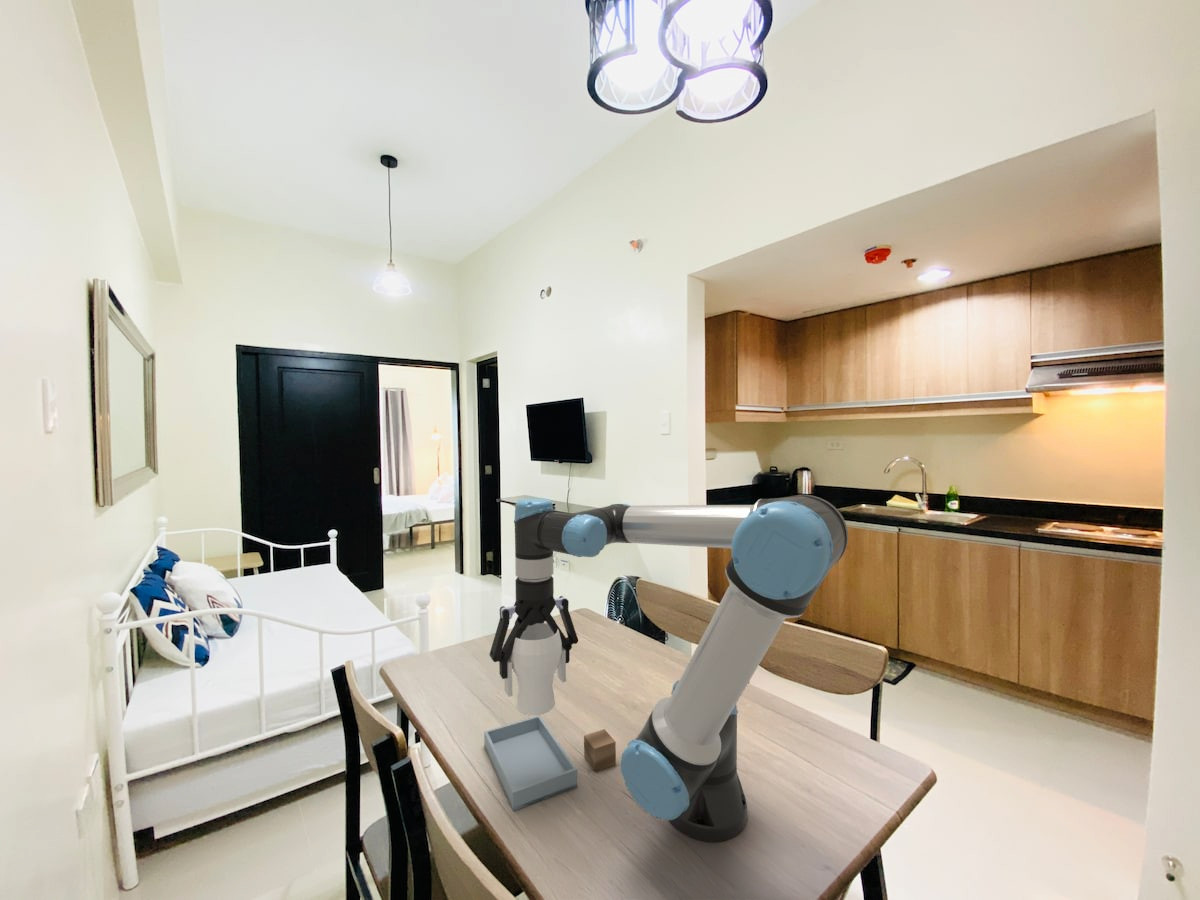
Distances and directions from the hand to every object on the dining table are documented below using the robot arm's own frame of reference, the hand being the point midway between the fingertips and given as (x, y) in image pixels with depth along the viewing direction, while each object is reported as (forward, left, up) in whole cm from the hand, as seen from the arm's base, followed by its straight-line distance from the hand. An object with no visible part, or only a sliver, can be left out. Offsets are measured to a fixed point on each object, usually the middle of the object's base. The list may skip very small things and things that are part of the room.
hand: (535, 685), depth 96 cm
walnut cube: (-1, -14, -20) cm, 24 cm away
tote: (+5, 0, -20) cm, 20 cm away
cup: (0, 0, -4) cm, 4 cm away
